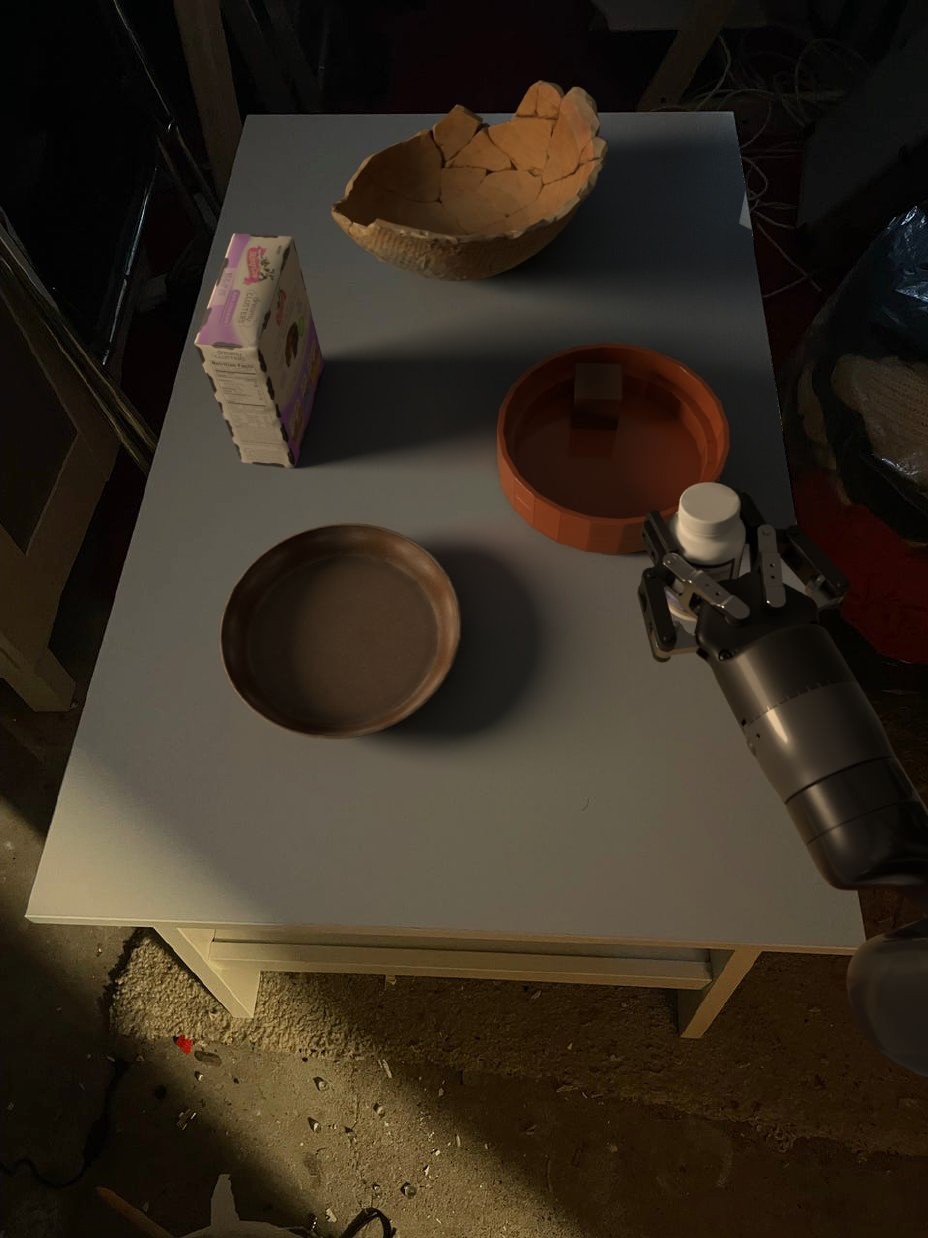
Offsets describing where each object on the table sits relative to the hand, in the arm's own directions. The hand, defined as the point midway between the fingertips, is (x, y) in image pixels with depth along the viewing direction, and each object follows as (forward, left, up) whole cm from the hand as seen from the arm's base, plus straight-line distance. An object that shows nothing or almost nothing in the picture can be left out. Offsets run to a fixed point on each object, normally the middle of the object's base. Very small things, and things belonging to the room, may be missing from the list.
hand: (689, 506), depth 63 cm
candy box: (+38, -20, -18) cm, 46 cm away
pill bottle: (-2, +4, -6) cm, 8 cm away
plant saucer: (+27, +5, -18) cm, 32 cm away
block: (+6, -23, -17) cm, 29 cm away
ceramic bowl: (+22, -47, -18) cm, 55 cm away
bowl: (+5, -17, -18) cm, 25 cm away
